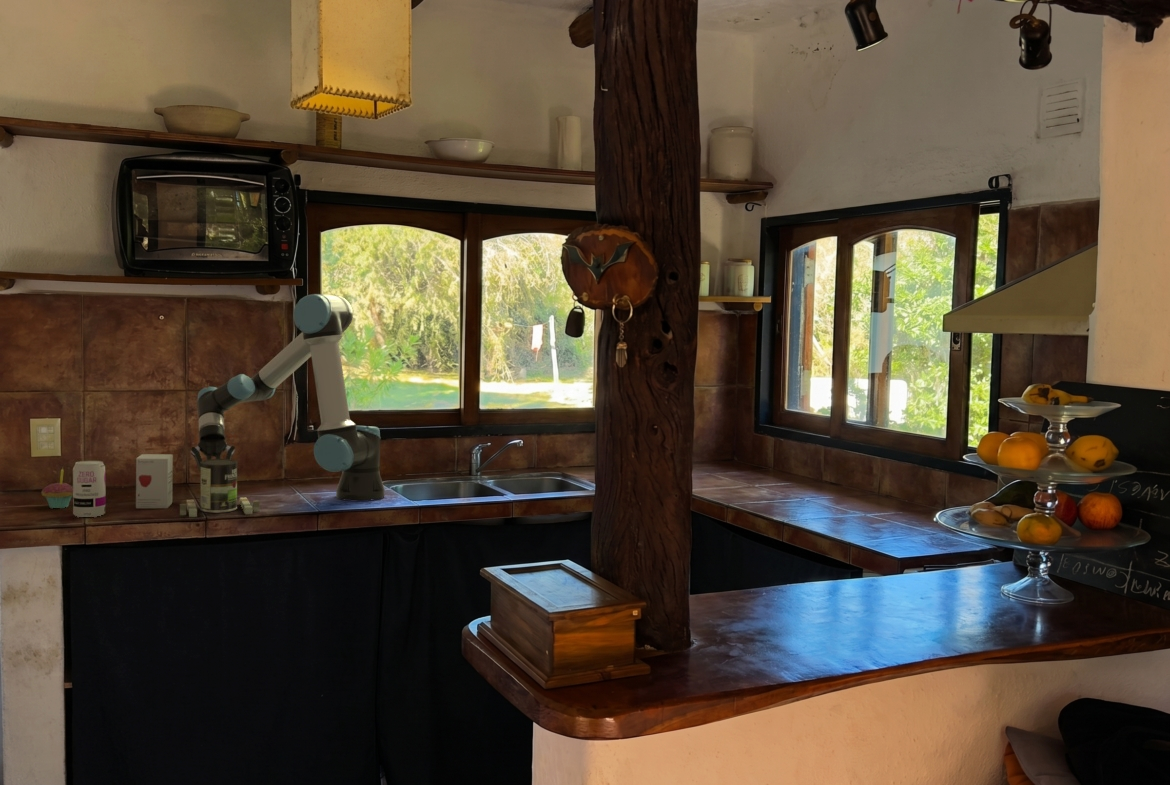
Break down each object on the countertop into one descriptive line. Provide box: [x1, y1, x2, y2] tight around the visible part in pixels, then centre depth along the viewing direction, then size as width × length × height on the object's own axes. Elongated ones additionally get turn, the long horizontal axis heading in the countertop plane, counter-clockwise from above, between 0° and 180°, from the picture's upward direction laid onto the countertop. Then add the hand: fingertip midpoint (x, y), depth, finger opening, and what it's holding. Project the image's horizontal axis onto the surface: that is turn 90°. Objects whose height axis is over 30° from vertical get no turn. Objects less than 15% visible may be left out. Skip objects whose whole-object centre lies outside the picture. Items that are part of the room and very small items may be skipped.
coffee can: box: [199, 458, 239, 514], centre depth 300 cm, size 10×10×14 cm
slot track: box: [179, 496, 260, 518], centre depth 300 cm, size 16×22×3 cm
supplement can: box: [72, 460, 107, 518], centre depth 287 cm, size 8×8×15 cm
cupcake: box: [40, 466, 73, 509], centre depth 297 cm, size 9×8×12 cm
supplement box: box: [135, 453, 174, 509], centre depth 303 cm, size 9×9×15 cm
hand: (215, 493), depth 305 cm, fingers closed
